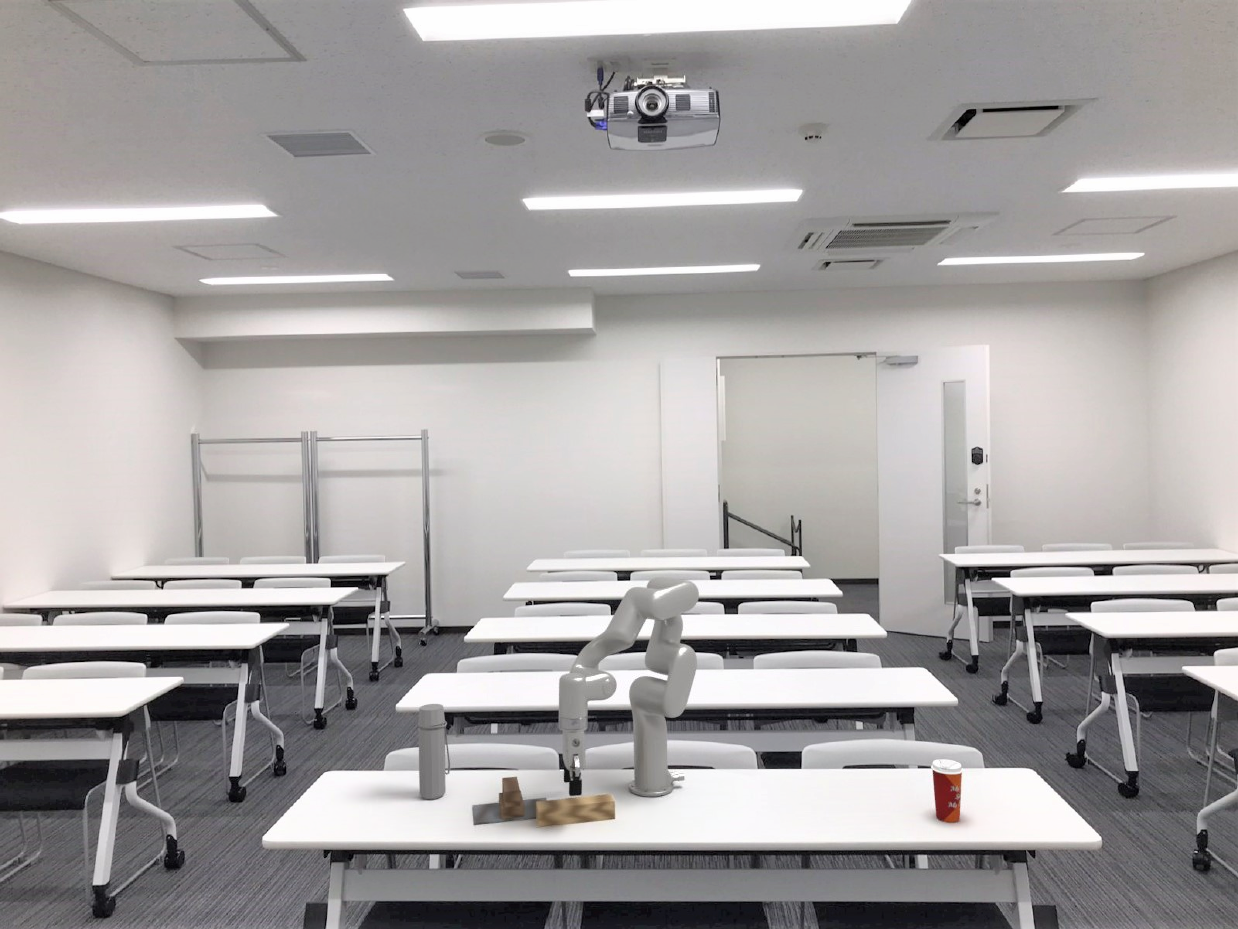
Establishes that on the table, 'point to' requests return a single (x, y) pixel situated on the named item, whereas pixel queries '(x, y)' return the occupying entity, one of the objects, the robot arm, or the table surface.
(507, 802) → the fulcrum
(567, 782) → the robot arm
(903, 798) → the table surface
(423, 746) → the water bottle
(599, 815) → the oak bar
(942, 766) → the paper cup
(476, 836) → the table surface
